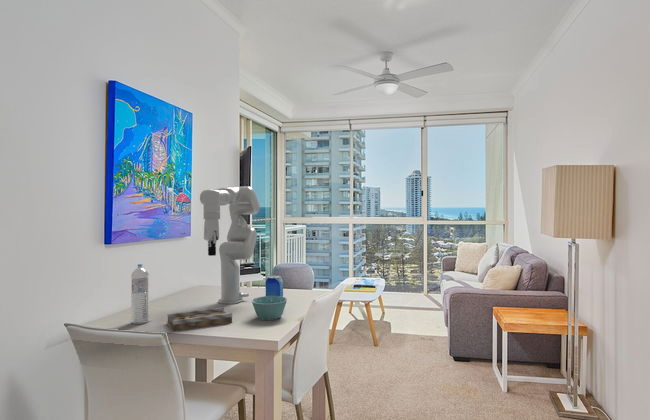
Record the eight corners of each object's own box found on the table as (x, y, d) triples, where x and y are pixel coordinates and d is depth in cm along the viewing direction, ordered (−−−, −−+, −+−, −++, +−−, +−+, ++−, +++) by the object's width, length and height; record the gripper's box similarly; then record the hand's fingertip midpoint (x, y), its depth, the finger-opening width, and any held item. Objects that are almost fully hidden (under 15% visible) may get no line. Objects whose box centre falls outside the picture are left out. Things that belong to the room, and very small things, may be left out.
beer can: (286, 308, 205) (286, 275, 205) (277, 312, 197) (277, 278, 197) (271, 306, 208) (271, 274, 208) (262, 310, 201) (262, 277, 201)
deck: (223, 316, 190) (223, 307, 190) (232, 322, 179) (232, 313, 179) (167, 323, 178) (167, 313, 178) (173, 330, 167) (173, 320, 167)
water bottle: (134, 320, 183) (134, 263, 183) (150, 320, 184) (150, 263, 184) (128, 324, 176) (128, 265, 176) (145, 324, 177) (145, 265, 177)
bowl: (272, 324, 177) (271, 304, 177) (244, 319, 185) (244, 300, 185) (294, 316, 190) (294, 298, 190) (267, 312, 198) (267, 294, 198)
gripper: (199, 216, 200) (199, 254, 200) (207, 216, 187) (208, 257, 187) (215, 215, 204) (215, 253, 204) (224, 216, 191) (224, 256, 191)
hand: (212, 255), depth 195 cm, fingers closed
